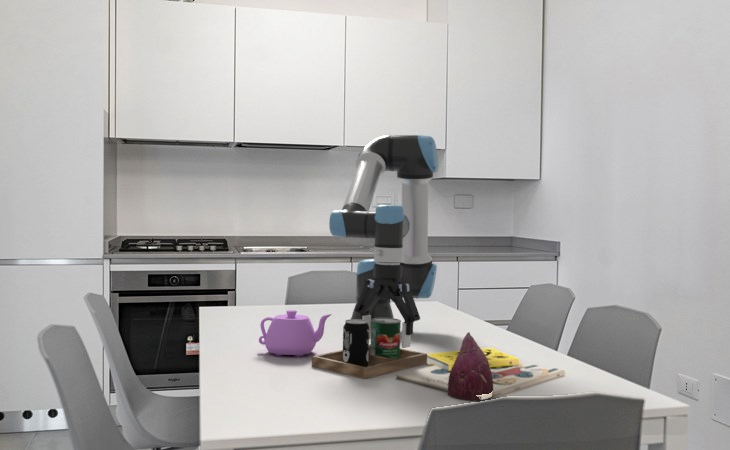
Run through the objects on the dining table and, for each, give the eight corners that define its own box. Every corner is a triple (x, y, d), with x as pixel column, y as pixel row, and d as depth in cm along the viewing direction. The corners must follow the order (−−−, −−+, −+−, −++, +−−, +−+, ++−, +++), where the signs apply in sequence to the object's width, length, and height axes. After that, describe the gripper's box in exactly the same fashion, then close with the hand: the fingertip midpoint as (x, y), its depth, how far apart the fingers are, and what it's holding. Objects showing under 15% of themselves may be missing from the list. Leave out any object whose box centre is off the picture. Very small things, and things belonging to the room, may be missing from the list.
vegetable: (445, 403, 163) (436, 337, 166) (489, 397, 163) (479, 331, 167) (453, 404, 152) (443, 334, 155) (500, 398, 153) (489, 328, 156)
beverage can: (365, 372, 177) (366, 323, 176) (339, 370, 178) (340, 322, 177) (370, 366, 183) (371, 319, 183) (345, 364, 184) (346, 318, 184)
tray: (311, 366, 181) (311, 356, 181) (374, 352, 200) (374, 343, 200) (365, 378, 170) (365, 368, 170) (426, 363, 189) (427, 353, 189)
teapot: (253, 357, 190) (254, 312, 190) (263, 347, 203) (264, 305, 203) (328, 360, 189) (329, 315, 188) (333, 349, 202) (334, 308, 202)
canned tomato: (384, 356, 195) (385, 316, 195) (405, 361, 190) (407, 320, 189) (363, 360, 190) (364, 319, 189) (384, 365, 184) (386, 323, 184)
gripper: (343, 260, 194) (341, 338, 195) (417, 267, 178) (415, 352, 178) (361, 259, 200) (359, 334, 200) (435, 266, 184) (432, 348, 184)
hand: (385, 343), depth 189 cm, fingers open, 13 cm apart
